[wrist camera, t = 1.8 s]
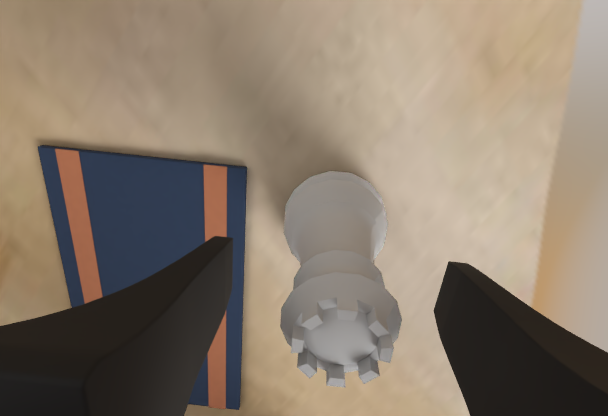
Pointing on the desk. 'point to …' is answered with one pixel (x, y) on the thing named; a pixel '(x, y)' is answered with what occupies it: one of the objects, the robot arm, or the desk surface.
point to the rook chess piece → (338, 279)
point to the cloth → (149, 236)
